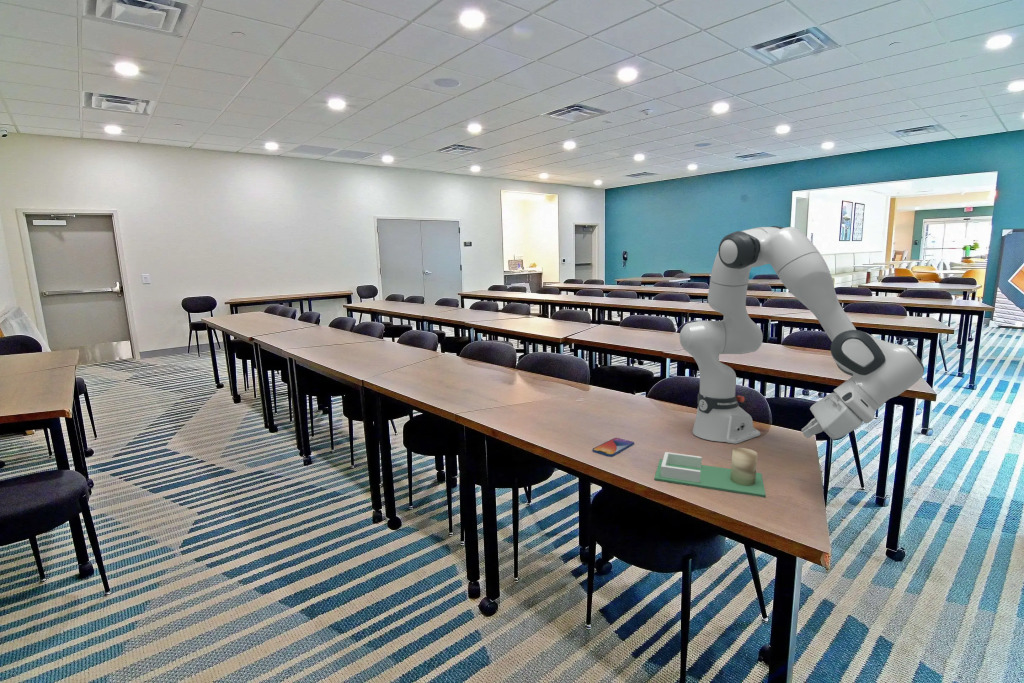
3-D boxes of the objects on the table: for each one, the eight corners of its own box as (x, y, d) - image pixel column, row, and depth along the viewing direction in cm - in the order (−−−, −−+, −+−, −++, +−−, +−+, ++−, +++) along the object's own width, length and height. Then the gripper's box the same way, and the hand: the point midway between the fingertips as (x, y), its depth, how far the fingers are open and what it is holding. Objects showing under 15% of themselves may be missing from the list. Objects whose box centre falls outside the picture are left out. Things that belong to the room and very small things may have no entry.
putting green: (761, 475, 136) (762, 462, 136) (765, 497, 124) (766, 483, 123) (659, 460, 147) (660, 449, 146) (654, 480, 134) (654, 467, 133)
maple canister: (742, 474, 136) (744, 446, 134) (760, 483, 130) (762, 454, 129) (725, 478, 134) (727, 449, 132) (743, 487, 128) (745, 458, 127)
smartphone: (635, 445, 161) (635, 442, 161) (611, 458, 150) (611, 455, 150) (615, 440, 166) (615, 437, 166) (590, 452, 155) (590, 449, 154)
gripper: (834, 381, 129) (789, 413, 134) (853, 400, 110) (800, 437, 116) (853, 399, 128) (807, 431, 133) (875, 421, 109) (820, 458, 115)
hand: (804, 434), depth 124 cm, fingers closed
